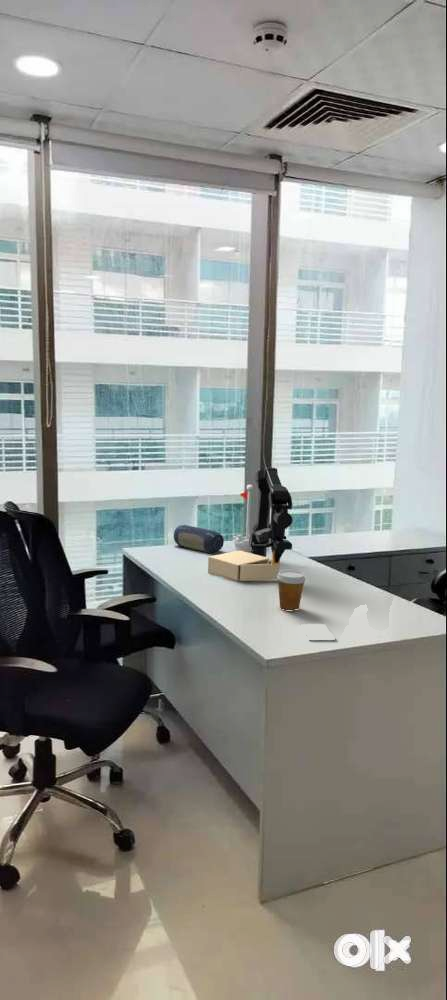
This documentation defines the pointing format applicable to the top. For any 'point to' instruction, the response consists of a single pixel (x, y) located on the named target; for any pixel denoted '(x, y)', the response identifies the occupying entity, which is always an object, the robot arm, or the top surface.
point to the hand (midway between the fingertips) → (275, 562)
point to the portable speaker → (198, 538)
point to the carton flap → (260, 571)
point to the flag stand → (240, 541)
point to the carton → (233, 563)
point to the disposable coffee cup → (290, 589)
